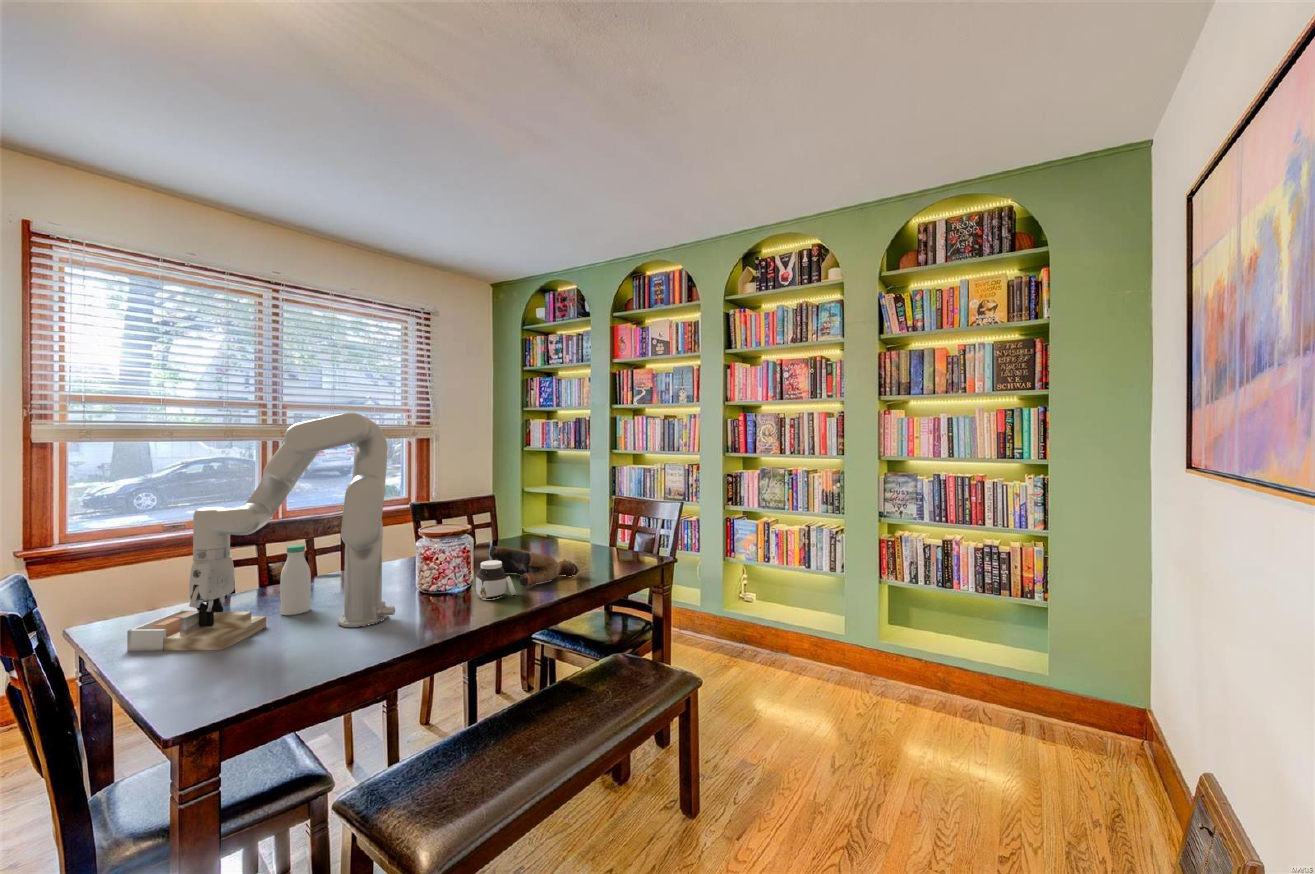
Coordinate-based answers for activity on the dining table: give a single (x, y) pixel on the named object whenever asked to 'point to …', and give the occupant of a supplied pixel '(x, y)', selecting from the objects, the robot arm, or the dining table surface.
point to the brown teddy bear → (532, 565)
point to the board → (213, 637)
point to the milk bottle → (295, 583)
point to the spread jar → (492, 580)
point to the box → (149, 635)
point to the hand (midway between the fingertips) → (211, 623)
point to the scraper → (215, 621)
